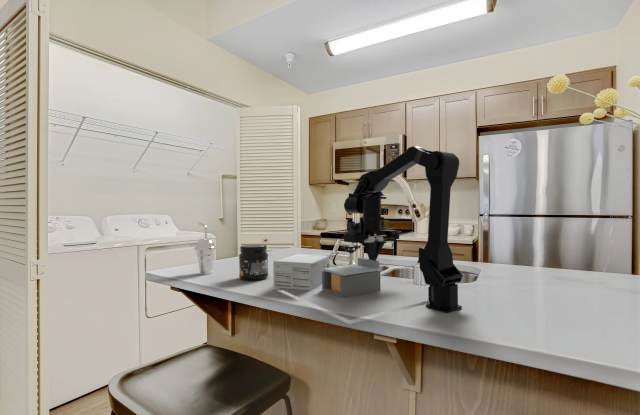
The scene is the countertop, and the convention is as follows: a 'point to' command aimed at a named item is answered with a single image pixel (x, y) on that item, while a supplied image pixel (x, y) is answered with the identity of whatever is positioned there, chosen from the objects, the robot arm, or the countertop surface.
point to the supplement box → (299, 272)
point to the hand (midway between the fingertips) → (372, 263)
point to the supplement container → (253, 262)
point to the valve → (350, 252)
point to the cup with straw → (205, 253)
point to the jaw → (335, 282)
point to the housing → (353, 283)
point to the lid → (355, 267)
